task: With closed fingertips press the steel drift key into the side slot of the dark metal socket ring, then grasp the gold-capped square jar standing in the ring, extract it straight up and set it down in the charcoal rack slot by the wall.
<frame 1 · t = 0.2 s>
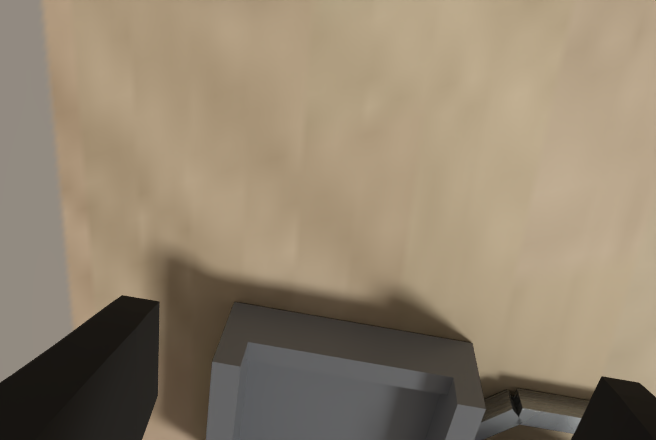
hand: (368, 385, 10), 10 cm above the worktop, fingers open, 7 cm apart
rack: (335, 403, 24), on the worktop
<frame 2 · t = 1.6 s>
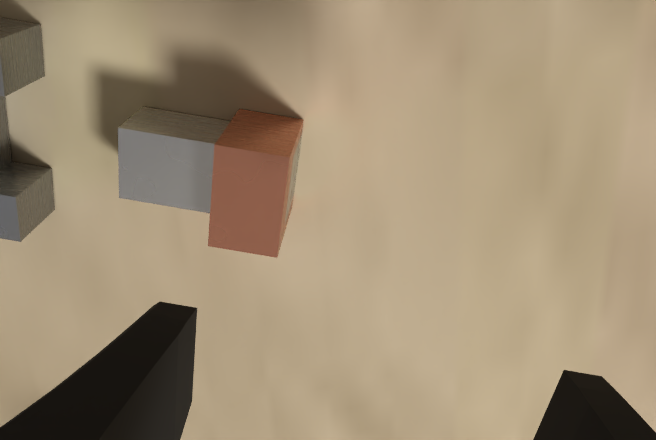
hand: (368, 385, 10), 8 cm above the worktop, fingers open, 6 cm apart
drift key: (207, 172, 16), point 1 cm above the worktop, slide at 0.0 cm
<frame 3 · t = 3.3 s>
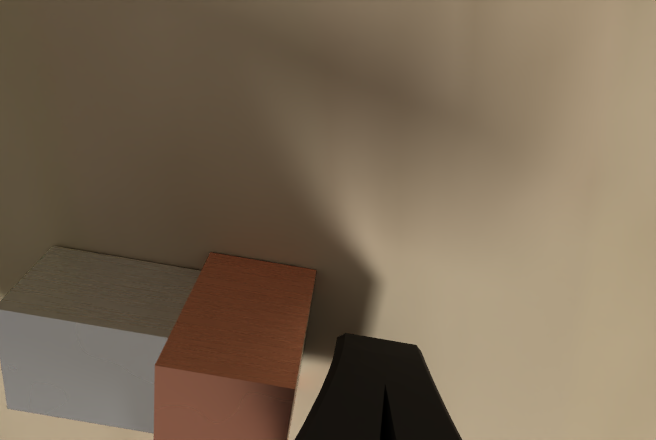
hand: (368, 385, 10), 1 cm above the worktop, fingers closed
drift key: (155, 367, 10), point 1 cm above the worktop, slide at 0.1 cm, touching gripper
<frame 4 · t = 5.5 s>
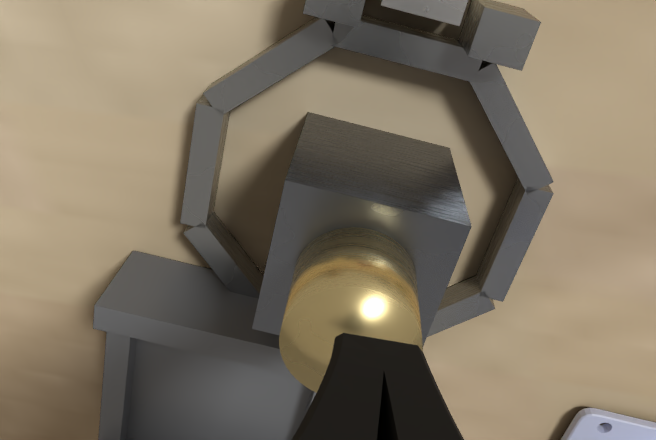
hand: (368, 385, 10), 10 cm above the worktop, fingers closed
rack: (227, 369, 23), on the worktop
socket: (360, 194, 19), on the worktop
gold-capped square jar: (360, 193, 19), resting in socket
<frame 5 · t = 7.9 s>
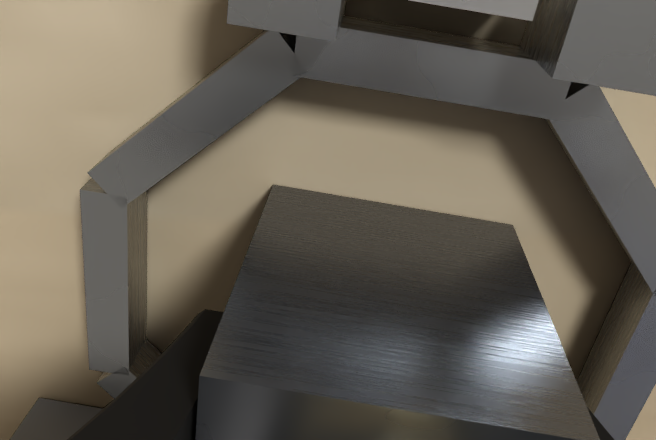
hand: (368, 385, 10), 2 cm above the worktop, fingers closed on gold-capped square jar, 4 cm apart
socket: (371, 303, 12), on the worktop
gold-capped square jar: (371, 302, 12), resting in socket, touching gripper
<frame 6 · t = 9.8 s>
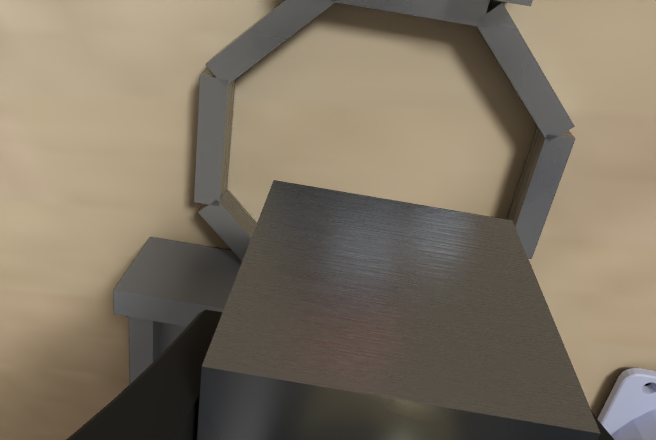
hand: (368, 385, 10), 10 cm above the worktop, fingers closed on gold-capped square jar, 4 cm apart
rack: (254, 354, 23), on the worktop
socket: (374, 159, 19), on the worktop
gold-capped square jar: (371, 298, 12), point 7 cm above the worktop, touching gripper
when the fingers open (5 cm above the worktop, at t = 12.1 s): gold-capped square jar drops 1 cm, resting on rack.
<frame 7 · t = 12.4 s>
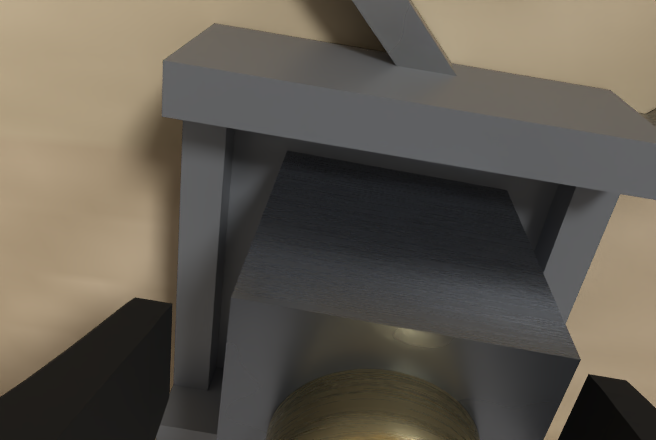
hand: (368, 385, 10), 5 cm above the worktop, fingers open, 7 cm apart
rack: (372, 242, 14), on the worktop
gold-capped square jar: (375, 263, 13), point 1 cm above the worktop, touching rack
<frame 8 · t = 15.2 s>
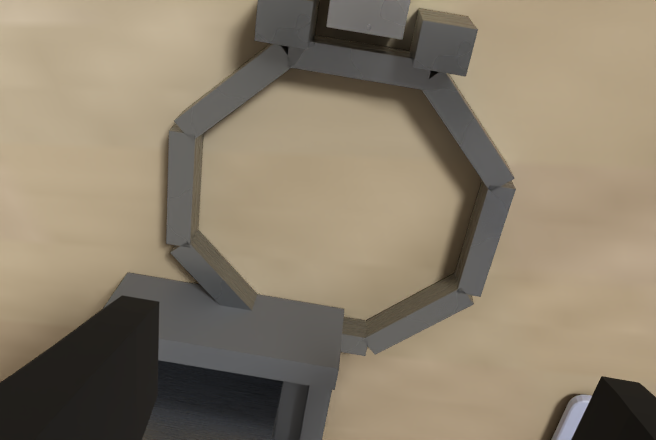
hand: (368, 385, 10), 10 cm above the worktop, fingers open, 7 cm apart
rack: (227, 379, 24), on the worktop
socket: (334, 203, 20), on the worktop
gold-capped square jar: (222, 398, 23), point 1 cm above the worktop, touching rack
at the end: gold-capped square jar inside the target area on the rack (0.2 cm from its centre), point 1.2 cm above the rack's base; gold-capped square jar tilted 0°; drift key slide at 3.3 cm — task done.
